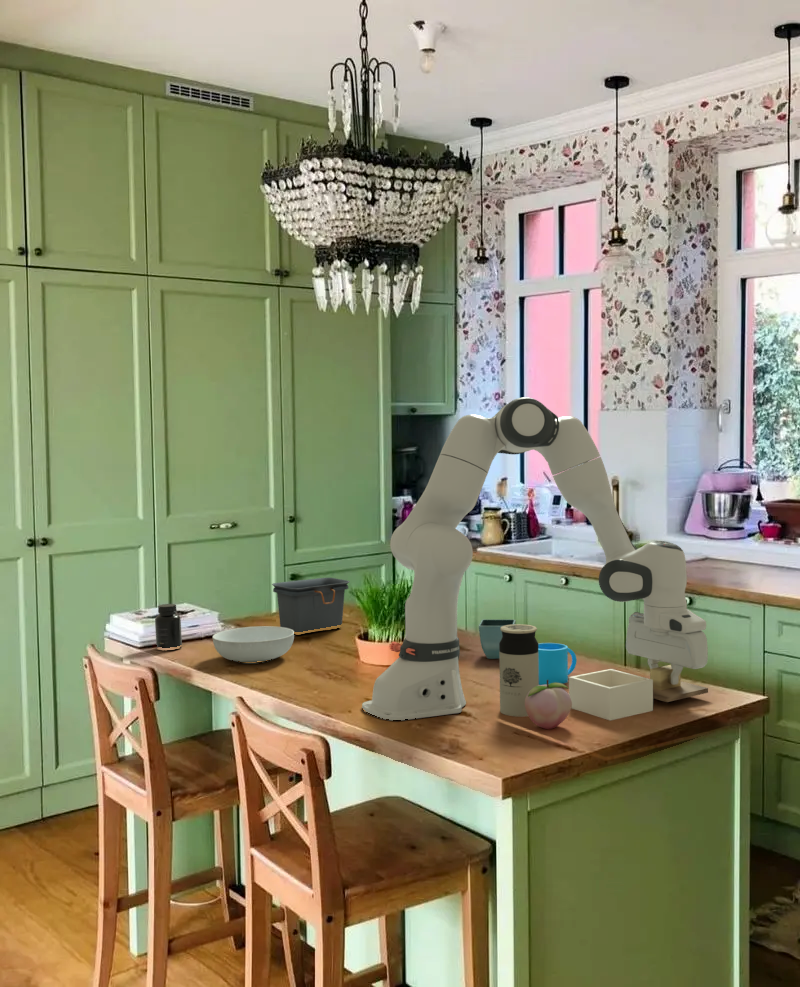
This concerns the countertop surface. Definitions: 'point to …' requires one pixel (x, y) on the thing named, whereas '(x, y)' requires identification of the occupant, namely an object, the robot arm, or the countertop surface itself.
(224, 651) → the serving bowl
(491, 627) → the flower pot
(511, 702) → the travel mug
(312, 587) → the storage bin
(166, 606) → the supplement bottle
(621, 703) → the box
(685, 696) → the lid
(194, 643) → the countertop surface
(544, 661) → the mug
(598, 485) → the robot arm
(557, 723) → the decorative fruit
